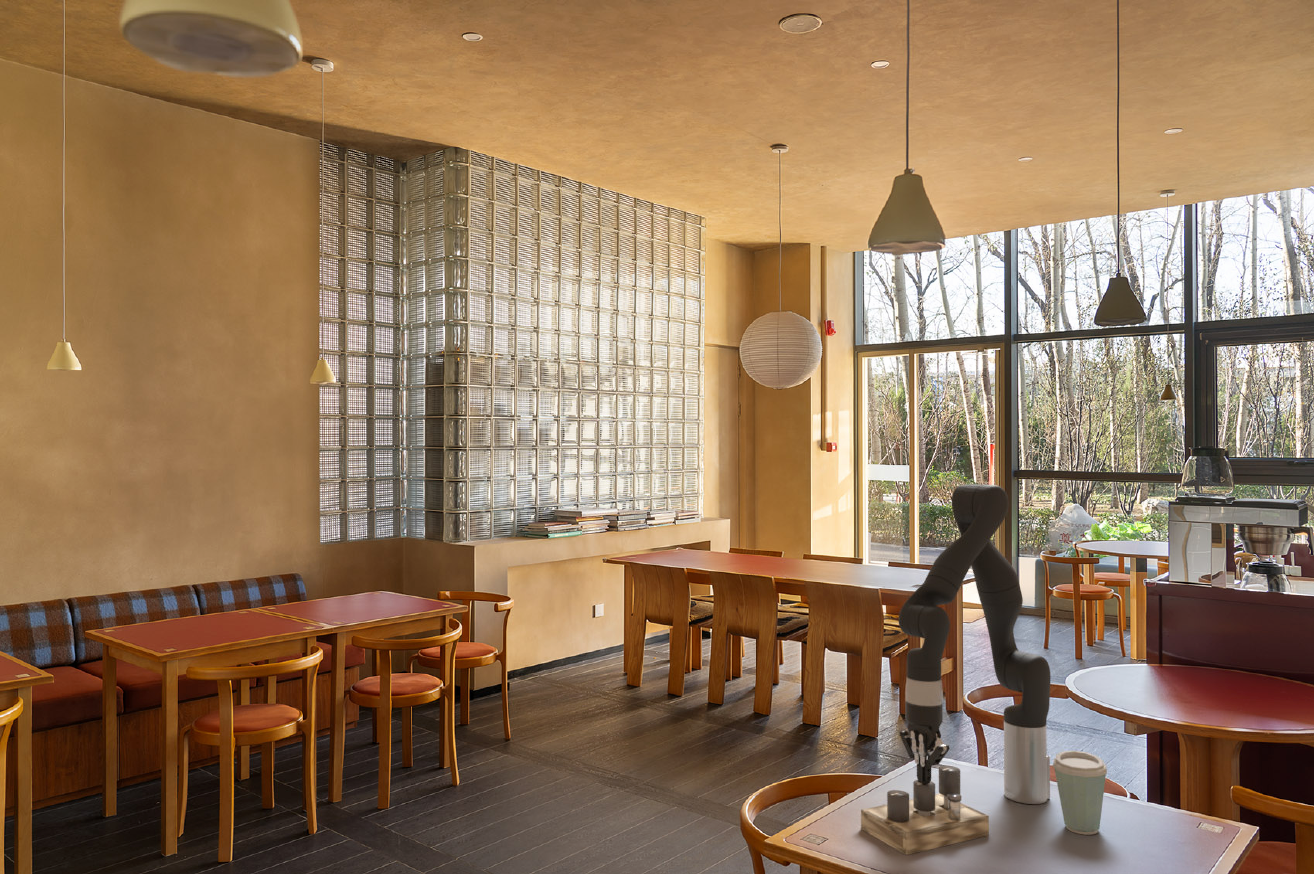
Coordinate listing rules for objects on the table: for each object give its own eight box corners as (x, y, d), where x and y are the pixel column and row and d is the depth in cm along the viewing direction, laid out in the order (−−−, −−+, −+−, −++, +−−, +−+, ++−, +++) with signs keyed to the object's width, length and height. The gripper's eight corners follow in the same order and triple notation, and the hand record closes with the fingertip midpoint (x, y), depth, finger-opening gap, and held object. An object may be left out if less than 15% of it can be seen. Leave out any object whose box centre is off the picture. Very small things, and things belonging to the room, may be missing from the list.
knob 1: (899, 827, 189) (899, 787, 189) (913, 835, 185) (913, 794, 185) (882, 830, 187) (882, 791, 187) (897, 838, 183) (897, 798, 183)
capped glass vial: (954, 814, 188) (954, 792, 188) (964, 819, 186) (964, 796, 186) (944, 817, 187) (944, 794, 187) (954, 821, 184) (954, 798, 184)
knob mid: (925, 816, 192) (924, 777, 192) (939, 823, 188) (939, 784, 188) (909, 819, 190) (908, 780, 190) (923, 827, 186) (923, 787, 186)
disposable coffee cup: (1115, 841, 185) (1114, 767, 185) (1059, 836, 187) (1058, 763, 187) (1100, 821, 195) (1099, 751, 195) (1047, 817, 197) (1046, 748, 198)
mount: (940, 811, 200) (940, 793, 200) (988, 835, 188) (988, 815, 188) (861, 828, 191) (861, 809, 191) (906, 854, 178) (906, 834, 178)
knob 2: (949, 801, 195) (949, 763, 195) (965, 808, 191) (964, 770, 191) (934, 805, 193) (934, 766, 193) (949, 812, 189) (949, 773, 190)
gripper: (960, 705, 186) (960, 790, 185) (915, 690, 197) (915, 770, 197) (932, 709, 182) (932, 796, 182) (888, 694, 194) (888, 775, 194)
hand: (923, 782), depth 189 cm, fingers closed
